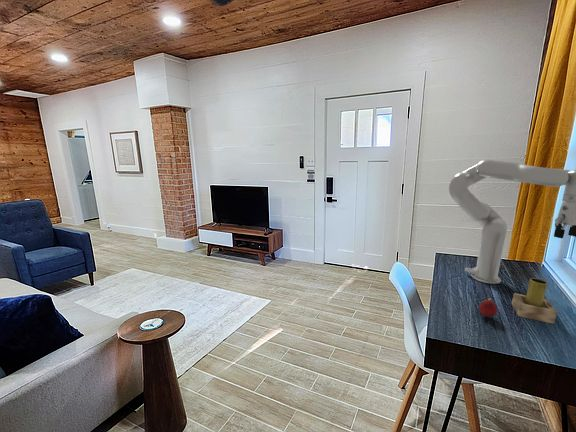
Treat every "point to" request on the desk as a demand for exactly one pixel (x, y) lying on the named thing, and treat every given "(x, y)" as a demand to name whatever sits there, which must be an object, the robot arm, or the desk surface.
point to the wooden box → (534, 309)
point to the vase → (536, 292)
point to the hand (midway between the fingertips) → (565, 236)
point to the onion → (488, 308)
